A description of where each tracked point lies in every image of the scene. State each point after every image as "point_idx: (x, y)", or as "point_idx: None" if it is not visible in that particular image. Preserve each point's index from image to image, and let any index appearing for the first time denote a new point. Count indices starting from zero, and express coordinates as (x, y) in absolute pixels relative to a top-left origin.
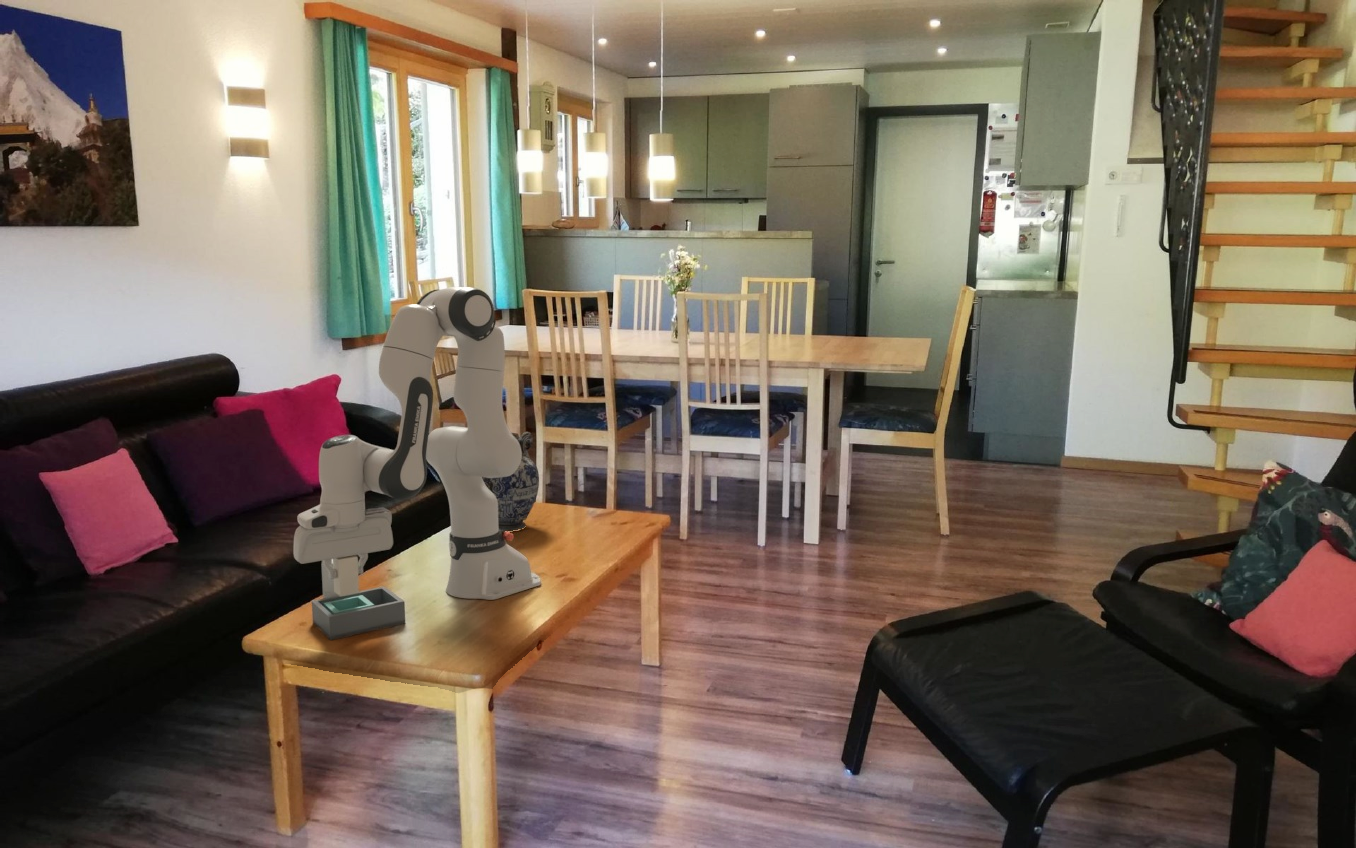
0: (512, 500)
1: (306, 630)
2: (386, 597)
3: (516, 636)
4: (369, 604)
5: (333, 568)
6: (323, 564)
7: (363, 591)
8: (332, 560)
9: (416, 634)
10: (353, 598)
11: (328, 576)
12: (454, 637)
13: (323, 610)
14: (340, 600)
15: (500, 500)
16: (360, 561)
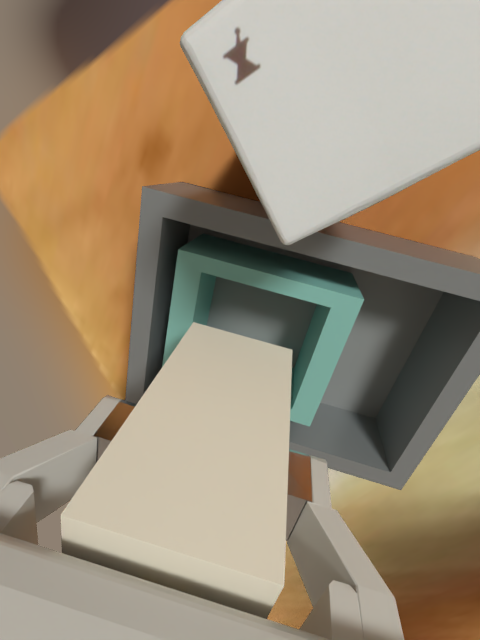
0: None
1: (137, 232)
2: (447, 350)
3: (458, 636)
4: (300, 412)
5: (133, 415)
6: (6, 457)
7: (401, 271)
8: (331, 40)
9: (337, 491)
10: (309, 300)
11: (104, 401)
12: (377, 558)
13: (135, 339)
14: (249, 283)
15: None
16: (314, 560)
